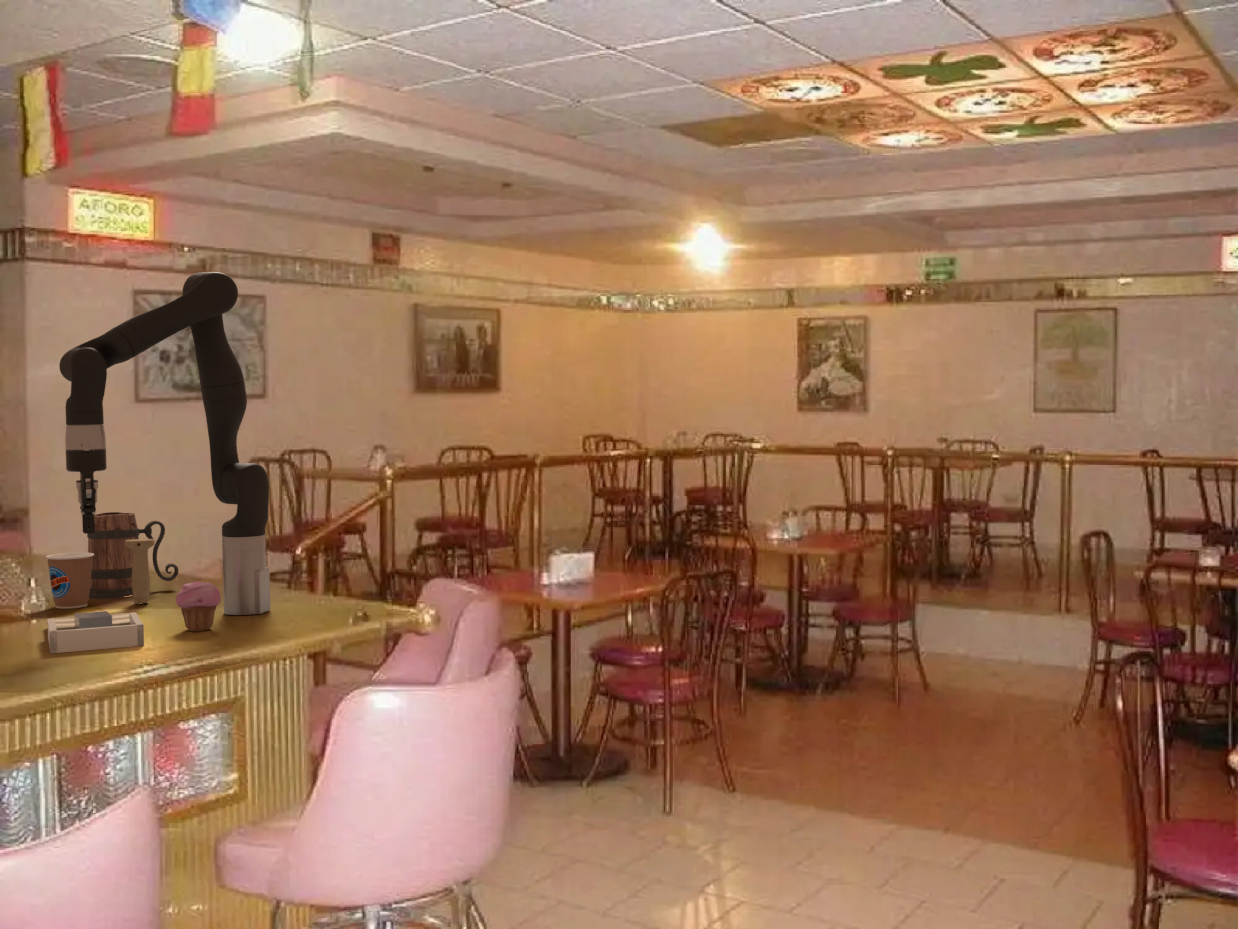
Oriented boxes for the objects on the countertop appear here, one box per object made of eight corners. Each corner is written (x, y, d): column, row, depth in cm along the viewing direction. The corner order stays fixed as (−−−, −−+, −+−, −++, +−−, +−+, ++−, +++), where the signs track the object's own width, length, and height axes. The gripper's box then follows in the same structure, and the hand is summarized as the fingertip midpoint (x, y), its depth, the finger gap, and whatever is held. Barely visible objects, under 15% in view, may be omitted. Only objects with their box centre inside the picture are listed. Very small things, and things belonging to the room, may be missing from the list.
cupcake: (173, 628, 263) (172, 580, 262) (216, 624, 267) (215, 577, 267) (181, 635, 255) (180, 585, 255) (225, 631, 259) (224, 582, 259)
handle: (155, 604, 296) (153, 540, 296) (125, 606, 295) (123, 541, 294) (157, 601, 301) (155, 538, 300) (128, 603, 299) (126, 539, 299)
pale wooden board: (47, 628, 265) (47, 618, 265) (129, 622, 272) (129, 612, 272) (49, 638, 252) (48, 628, 252) (135, 632, 259) (134, 622, 259)
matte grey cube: (75, 638, 253) (74, 613, 253) (107, 635, 256) (106, 611, 256) (79, 644, 247) (79, 618, 247) (112, 641, 250) (111, 615, 250)
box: (48, 639, 252) (47, 618, 252) (136, 631, 259) (135, 612, 259) (50, 653, 237) (49, 632, 237) (144, 645, 244) (143, 624, 244)
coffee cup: (37, 607, 294) (36, 556, 293) (77, 602, 302) (75, 551, 302) (65, 611, 288) (64, 558, 288) (105, 605, 297) (103, 553, 296)
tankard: (81, 601, 304) (78, 517, 303) (75, 592, 319) (72, 512, 318) (183, 593, 315) (181, 512, 314) (173, 585, 330) (171, 508, 329)
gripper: (64, 447, 260) (67, 531, 261) (66, 448, 249) (69, 537, 249) (103, 446, 264) (106, 529, 265) (108, 447, 252) (111, 535, 253)
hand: (88, 533), depth 257 cm, fingers closed
